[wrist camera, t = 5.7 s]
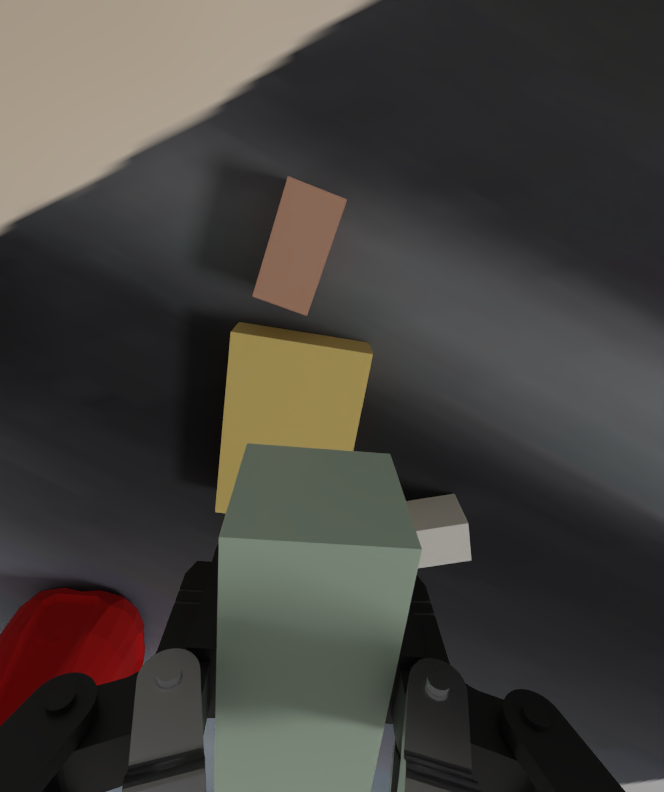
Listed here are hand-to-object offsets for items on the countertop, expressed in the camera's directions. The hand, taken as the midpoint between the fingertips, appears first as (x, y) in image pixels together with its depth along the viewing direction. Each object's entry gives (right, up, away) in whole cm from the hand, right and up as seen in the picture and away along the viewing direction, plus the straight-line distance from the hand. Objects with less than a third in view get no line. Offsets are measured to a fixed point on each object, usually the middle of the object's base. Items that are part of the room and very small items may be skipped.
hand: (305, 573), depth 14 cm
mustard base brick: (-2, +4, +17) cm, 17 cm away
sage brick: (0, 0, 0) cm, 0 cm away
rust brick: (-1, +14, +12) cm, 19 cm away
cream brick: (+7, -3, +19) cm, 21 cm away
